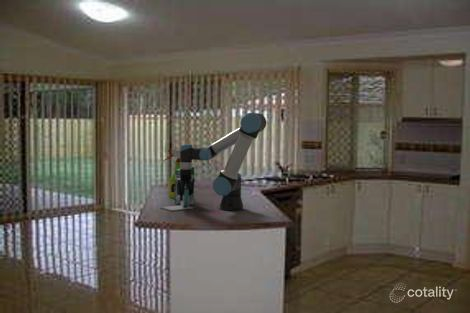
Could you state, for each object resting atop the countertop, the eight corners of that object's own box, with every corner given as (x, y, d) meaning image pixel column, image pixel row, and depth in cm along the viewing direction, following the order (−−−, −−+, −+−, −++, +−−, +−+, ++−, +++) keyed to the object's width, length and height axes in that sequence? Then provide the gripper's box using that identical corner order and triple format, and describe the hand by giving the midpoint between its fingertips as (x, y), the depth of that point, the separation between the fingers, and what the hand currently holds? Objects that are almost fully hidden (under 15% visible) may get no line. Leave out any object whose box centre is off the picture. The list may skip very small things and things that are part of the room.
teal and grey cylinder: (186, 206, 325) (186, 187, 324) (189, 207, 322) (189, 187, 321) (181, 207, 322) (181, 187, 321) (184, 207, 319) (184, 188, 319)
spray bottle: (161, 196, 371) (161, 148, 368) (185, 195, 376) (186, 148, 374) (164, 199, 358) (164, 149, 355) (189, 198, 363) (190, 149, 361)
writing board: (183, 205, 332) (183, 204, 332) (195, 208, 322) (195, 207, 322) (159, 208, 320) (159, 207, 320) (171, 211, 310) (171, 210, 310)
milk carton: (174, 203, 339) (175, 166, 337) (184, 202, 346) (185, 165, 344) (183, 205, 333) (184, 167, 331) (193, 204, 340) (194, 166, 338)
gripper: (192, 167, 329) (191, 203, 330) (171, 168, 318) (170, 205, 320) (199, 168, 323) (198, 205, 325) (178, 169, 312) (177, 207, 314)
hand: (184, 205), depth 322 cm, fingers closed on teal and grey cylinder, 3 cm apart
